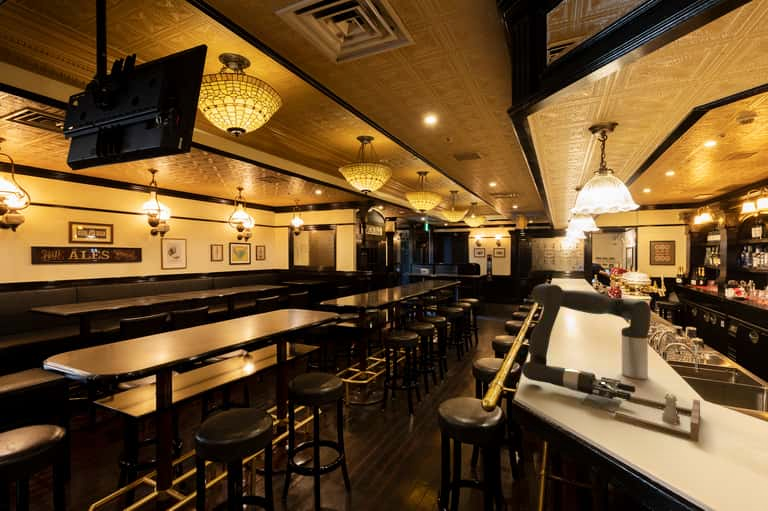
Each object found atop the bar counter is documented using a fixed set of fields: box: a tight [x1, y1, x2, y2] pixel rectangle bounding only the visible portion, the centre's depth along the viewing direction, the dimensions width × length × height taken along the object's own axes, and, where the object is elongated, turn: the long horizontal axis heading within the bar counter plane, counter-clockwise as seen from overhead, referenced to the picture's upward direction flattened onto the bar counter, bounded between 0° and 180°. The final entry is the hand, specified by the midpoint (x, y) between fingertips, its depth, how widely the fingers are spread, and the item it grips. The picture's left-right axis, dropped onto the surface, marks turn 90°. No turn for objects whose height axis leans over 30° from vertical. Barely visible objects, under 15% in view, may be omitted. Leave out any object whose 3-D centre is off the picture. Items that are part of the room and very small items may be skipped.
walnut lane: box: [614, 395, 701, 442], centre depth 110 cm, size 21×20×5 cm
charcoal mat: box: [580, 394, 622, 414], centre depth 121 cm, size 12×10×1 cm
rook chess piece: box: [661, 393, 681, 424], centre depth 108 cm, size 4×4×8 cm
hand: (632, 393), depth 115 cm, fingers open, 8 cm apart
